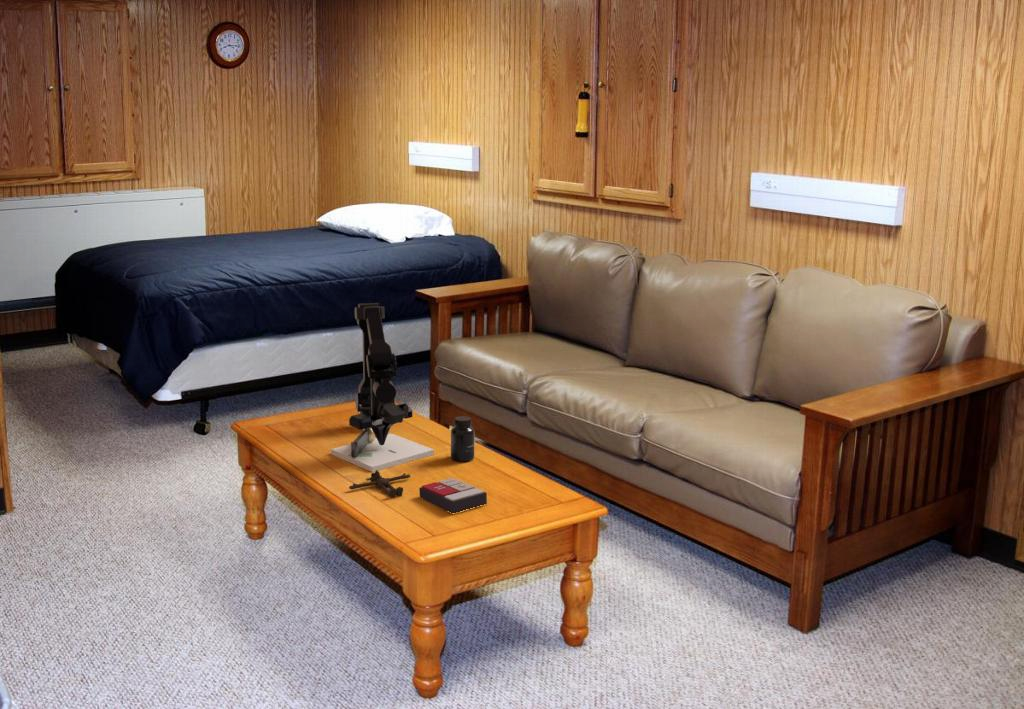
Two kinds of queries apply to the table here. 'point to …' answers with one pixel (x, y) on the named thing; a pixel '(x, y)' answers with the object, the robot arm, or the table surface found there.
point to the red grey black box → (453, 495)
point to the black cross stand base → (383, 484)
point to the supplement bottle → (462, 440)
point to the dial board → (384, 453)
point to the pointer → (361, 441)
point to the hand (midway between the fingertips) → (381, 444)
